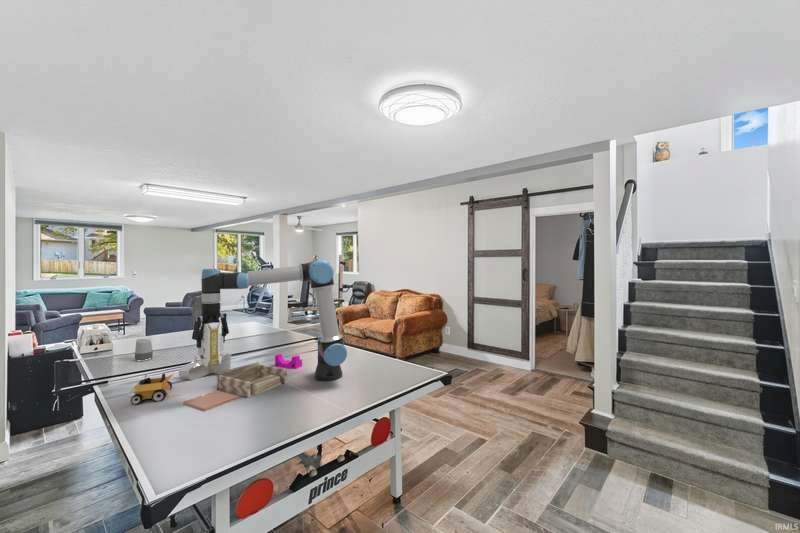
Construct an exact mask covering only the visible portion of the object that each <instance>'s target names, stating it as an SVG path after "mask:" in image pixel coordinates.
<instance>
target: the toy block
mask: <svg viewBox="0 0 800 533" xmlns="http://www.w3.org/2000/svg"><path fill="white" fill-rule="evenodd" d="M274 367H276V368H282V369H292V370H297V369H299V368H301V367H303V359H300V355H293V356H292V357H291V359H290V360H289V359H286V360H285V359H284V357H283V354H282V353H278V354H275V355H274Z"/></svg>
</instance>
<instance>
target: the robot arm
mask: <svg viewBox="0 0 800 533" xmlns="http://www.w3.org/2000/svg"><path fill="white" fill-rule="evenodd" d="M334 273H335V269H334V266H333V265H332V264H331V263H330V262H329V261H327V260H325V259H317V260H313V261H310V262H306V263H299V264H298V265H297V266H296V265H294V266H287V267H277V268H276V267H275V268H269V269H268V268H265V269H258V270H248V271H236V272H222V271H221V269H220V268H204V269H202V271H201V279H200V281H201V283H200V284H201V303H202V304H201V315H199V316H195V317H194V324H193V331H192V336H191V339H192V340H195V341H196V348H197V351H198V352H197V354H198V355H199V356H200V355H204V340H202V338H203V331H204V324H209V323H216V322H220V323H221V327H222V352H223V351H224V343H225V340H226V339H225V338H226V336H227V335H229V333H230V330H229V327H228V326H229V325H228V320H227V317H228V316H227V313H226V312H223V313H222V312H221V300H222V299H221V290H245V289H248V288H249V287H252V286H261V285H270V284H279V283H287V282H297V281H300V282H303V283H304V282H309V283H310V288H311V290H312V291H314V293H315V301H316V307H317V311H318V312H317V313H318V317H319V324H320V330H321V335H319V336H317V341H316V342H317V365H316V367H315V371H314V379H315V380H317V381H321V382H330V381H335V380H339V379H341V378H343V370H342V367H341V365H342V364H343V363H344V362H345V361H346V359H347V357H348V350H347V347H346V346H345V341H344V337H343V335H342V334H341V333H340V331H339V324H338V318H337V313H336V307H335V301H334V299H335V298H334V294H333V287H334V286H335V281H334V276H335V274H334ZM219 318H220V319H219ZM201 323H202V326H201Z"/></svg>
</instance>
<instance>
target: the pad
mask: <svg viewBox="0 0 800 533" xmlns="http://www.w3.org/2000/svg"><path fill="white" fill-rule="evenodd" d="M238 399H240V396H239V395H235V394H232V393H228V392H224V391H221V390H217V389H216V390H214V391H210V392H207V393H206V394H204V395H200V396H196V397H193V398H190V399H188V400H184V401H183V402H182V404H183V405H185V406H188V407H192V408H194V409H197V410H201V411H203V412H206V411H209V410H211V409H213V408H217V407H220V406H222V405H224V404H227V403H230V402H232V401H235V400H238Z"/></svg>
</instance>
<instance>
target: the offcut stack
mask: <svg viewBox="0 0 800 533" xmlns="http://www.w3.org/2000/svg"><path fill="white" fill-rule="evenodd" d="M279 386H282V383H281V382H280V377H279V376H275V375H270V376H267V377H264V378H261V379H258V380H255V381H252V382H250V392H251V395H253V396H257V395H260V394H263V393H265V392H267V391H270V390H272V389H275V388H278V387H279Z"/></svg>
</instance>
